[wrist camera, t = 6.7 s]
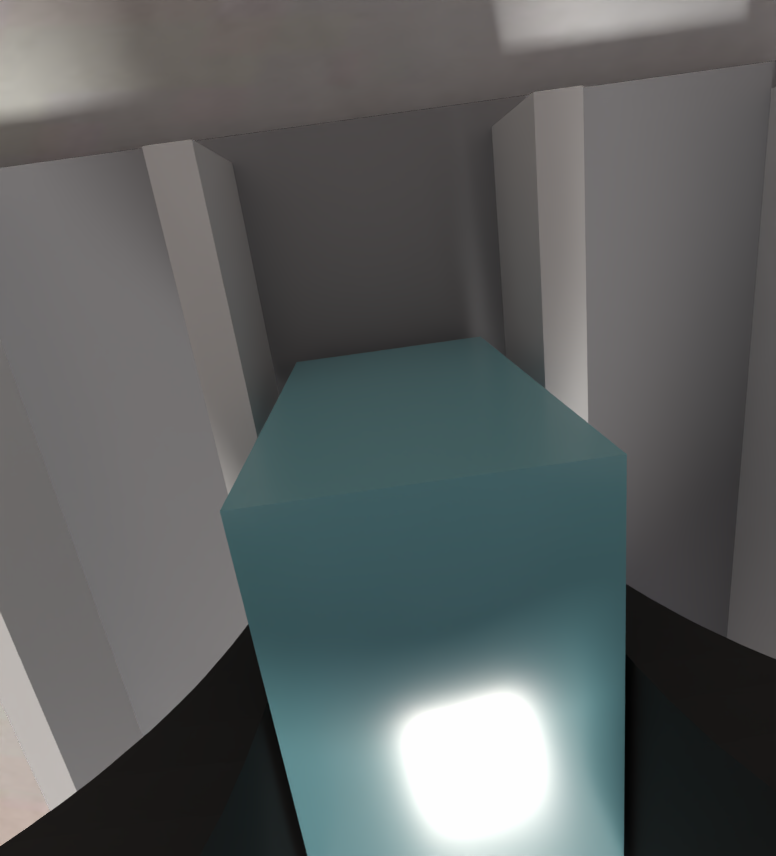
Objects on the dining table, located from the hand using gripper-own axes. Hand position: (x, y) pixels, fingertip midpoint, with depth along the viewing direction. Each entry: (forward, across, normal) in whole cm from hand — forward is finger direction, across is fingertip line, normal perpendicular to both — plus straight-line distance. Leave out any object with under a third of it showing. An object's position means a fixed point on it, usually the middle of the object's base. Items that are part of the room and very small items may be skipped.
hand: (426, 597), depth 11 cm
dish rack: (+5, 0, 0) cm, 5 cm away
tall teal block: (+3, 0, 0) cm, 3 cm away
